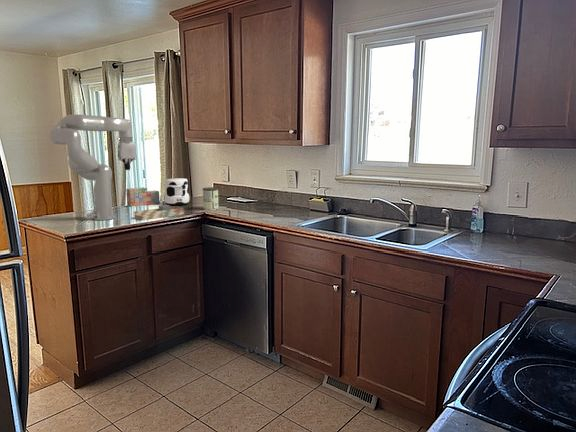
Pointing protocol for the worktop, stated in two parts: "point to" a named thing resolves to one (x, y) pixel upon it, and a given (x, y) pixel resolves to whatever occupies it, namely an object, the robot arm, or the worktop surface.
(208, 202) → the coffee can
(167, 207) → the block
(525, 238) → the worktop surface
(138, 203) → the stack of blocks
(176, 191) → the milk container
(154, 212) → the lane
